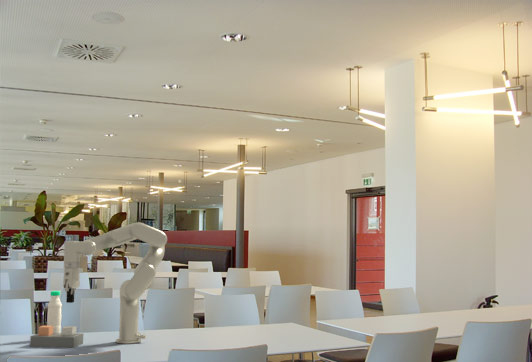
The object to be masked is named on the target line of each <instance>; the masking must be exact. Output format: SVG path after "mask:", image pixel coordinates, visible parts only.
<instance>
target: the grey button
mask: <svg viewBox="0 0 532 362" xmlns="http://www.w3.org/2000/svg"><path fill="white" fill-rule="evenodd" d="M61 333H62V336H74V335H76V333H77V326H76V325H73V326H71V325H70V326H69V325H66V326H63V327H62V326H61Z"/></svg>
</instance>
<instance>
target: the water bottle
mask: <svg viewBox="0 0 532 362" xmlns="http://www.w3.org/2000/svg"><path fill="white" fill-rule="evenodd" d="M60 296H61V291H59V290H51V291H50V297H51V298H50V299H49V302H48V304H47V317H46V318H47V319H46V324H47V325H46V326H53V333H62V326H61V323H62V306H63V304H62V302H61V299H60Z"/></svg>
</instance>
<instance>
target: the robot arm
mask: <svg viewBox="0 0 532 362" xmlns="http://www.w3.org/2000/svg"><path fill="white" fill-rule="evenodd" d="M167 236H168V235H167V234H166V233H165V232H163V231H162V230H159V229H158V228H156V227H152V226H151V225H148V224H146V223H143V222H137V221H136V222H133V223H130V224H126V225H124V226H121V227H118V228H115V229H112V230H110V231H108V232H105V233H103V234H99V235H97V236H94V237H91V238H88V239H85V240H83V241H82V240H81V241H78V240H66V241H65V242H64V248H63V250H64V251H63V269H64V270H63V281H62V286H63V288H64V291H65V293H66V294H65V295H66V301H65V302H66V304H67V303H68V304H70V303H72V304H73V303H74V302H75V294H76V293H75V292H76V290H77V289H78V288H79V287H80V279H81V278H80V276H81V275H80V262H81V260H80V258H81V256H83V255H84V256H92V255H93V254H95V252H98V251H102V250H105V249H110V248H115V247H119V246H121V245H124V244H127V243H129V242H132V241H135V240H140V241H142V242H143V243H146V244H148V251H147V253H146V254H145V256H144V257H143V258H142V259H141V261H140V262H139V263H138V264H137V265H136V267H135V268H134V270H133V276H132V277H131V278H130V279H127V280H124V281H123V282H122V284H121V285H120V288H119V336H118V338H117V339H115V342H116V343H118V344H124V345H125V344H137V343H141V341H142V340H144V339H145V340H146V338H147V335H146V334H141V332H140V331H139V319H140V318H139V316H140V315H139V313H140V312H139V311H140V306H139V305H140V298H141V297H142V296H143V294H144V293H145V292H146V291H147V290H148V287H149V286H150V285H151V284H152V282H153V281H154V279H155V277H156V273H157V272H156V269H157V267H158V266H159V265H160V263H161V262H162V260H163V258H164V256H165V251H166V248H165V245H166V244H167V242H168V237H167Z"/></svg>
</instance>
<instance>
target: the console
mask: <svg viewBox="0 0 532 362" xmlns="http://www.w3.org/2000/svg"><path fill="white" fill-rule="evenodd" d="M29 338H30V339H29V340H30V341H29V342H30V343H29V347H31V348H33V347H34V348H61V349H63V348H64V349H65V348H69V349H70V348H71V349H74V348H76V347H79V346H81V345H83V344H84V333H82V332H81V333H77V332H76V335H74V336H62V332H61V333H53V334H52V335H49V336H41V335H38V333H36V334H33V335H30V337H29Z"/></svg>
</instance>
